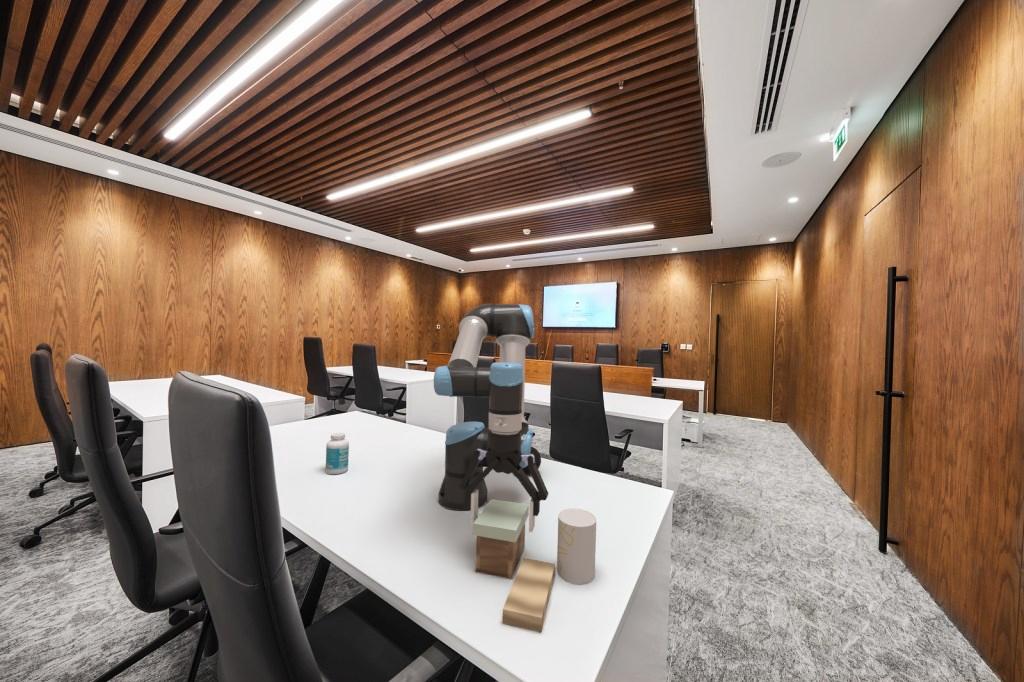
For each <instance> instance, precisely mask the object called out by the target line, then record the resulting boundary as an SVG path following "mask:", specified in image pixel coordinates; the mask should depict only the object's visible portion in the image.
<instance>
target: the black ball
mask: <svg viewBox="0 0 1024 682" xmlns="http://www.w3.org/2000/svg"><path fill="white" fill-rule="evenodd" d="M531 453H533V454H534V455H535V464H536V466H537V468H538V469H539V468H540V467H541V464H542V457H541V454H540V452H539V451H538V449H537V448H535V447H534V446H531V451H530V454H531ZM522 469H523V471H524V473H525V474H526V475H531V473H530V471H529V468H528V465H527V466H526V467H524V468H522Z"/></svg>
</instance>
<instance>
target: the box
mask: <svg viewBox="0 0 1024 682" xmlns="http://www.w3.org/2000/svg"><path fill="white" fill-rule="evenodd" d="M525 536H526V523H525V524H524V526H523V528H522V530H521V532H520V535H519V537H518V539H517V541H516V542H510V541H504V540H499V539H493V538H487V537H481V536H476V542H475V543H476V545H475V550H476V551H475V573H480V574H485V575H487V576H488V575H490V576H494V577H498V578H503V579H504V578H505V579H508V580H509V579H510V580H512V579H513V576H514V574H515V572H516V569H517V567H518V565H519V563H520V559H521V557H522V555H523V552H524V551H525V546H526V545H525V541H526V539H525Z"/></svg>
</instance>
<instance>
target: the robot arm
mask: <svg viewBox="0 0 1024 682" xmlns="http://www.w3.org/2000/svg"><path fill="white" fill-rule="evenodd" d="M458 332H459V334H458V336H457V338H456V342H455V345H454V348H453V350H452V353H451V356H450V358H449V361H448V363H447V365H443V366H442V365H441V366H438V367H437V366H436V368H435V371H434V373H433V390H434V393H435V395H437V396H443V397H450V398H452V397H454V398H455V397H458V398H459V397H464V398H465V397H466V398H467V397H468V398H488V399H489V403H488V404H489V406H488V407H489V408H488V427H485V424H484V422H481V421H465V422H460V423H456V424H454V425H451V426H449V428H447V430H446V433H445V441H444V445H445V446H444V447H445V449H444V450H445V455H444V456H445V457H444V461H445V462H444V476H443V478H442V479H443V480H442V483H441V485H440V487H439V491H438V498H437V500H438V504H440V505H441V506H442V507H444V508H446V509H448V510H449V509H450V510H453V511H468V510H470V523H472V524H473V523H474V522H475V520H476V519H477V518H478V516H479V508H481V507H482V506H484V505H485V504H487V502H488V499H489V492H488V488H487V484H486V481H485V479H486V477H487V476H488V475H489V474H490V473H491V472H492V470H493V471H495V473H498V474H500V473H503V474H507V475H510V474H511V473H512V475H513V476H514V477H515V478H517V480H518V482H519V483H520V485H521V486H522V487H523V488H524V490H525V491H526V493H527V494H528V495H529V497H530V498H531V499H530V501H529V515H528V517H529V518H528V532H529V533H533V531H534V530H535V527H536V526H535V525H536V524H535V522H536V520H535V519H536V517H538V515H539V513H540V510H541V509H540V508H541V506H540V505H541V501H546V500H547V499H548V497H549V491H548V489H547V487H546V485H545V482H544V479H543V477H542V474H541V473H540V470H539V468H537V466H536V464H535V455H534V454H533V453H531V454H530V451H531V447H532V443H533V436H534V429H531V428H529V427H530V426H529V422H528V421H527V420H526V419H525V384H526V383H525V380H526V379H525V378H526V347H528V345H529V344H530V343H531V340H532V339H534V338H535V321H534V314H533V310H532V307H531V306H530V305H529V304H528V305H527V304H520V303H516V304H515V303H514V304H513V303H510V304H509V303H508V304H507V303H484V304H481V305H480V304H479V305H478V306H475V307H473V308H472V309H470V310H469V311H468V312H466V314H465V315H463V317H462V318H461V320H460V322H459V324H458ZM485 338H495V343H496V344H497V345H498V346H499V361H498V362H492V364H491V365H490V367H480V366H479V367H478V366H477V365H478V361H479V358H480V357H479V356H480V351H481V349H482V343H483V340H485ZM527 465H528V468H529V471H530V473H531V474H530V476H531V478H532V481H533V482H534V484H533V482H532V481H531V479H530V477H528V476H527V475H528V474H525V473H524V471H523V469H522V468H524V467H526V466H527ZM484 468H485V469H484Z"/></svg>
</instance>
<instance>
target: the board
mask: <svg viewBox="0 0 1024 682" xmlns="http://www.w3.org/2000/svg"><path fill="white" fill-rule="evenodd" d="M555 576H556V563H555V562H549V561H543V560H537V559H531V558H527V557H523V558H522V560H521V562H520V565H519V567H518V570H517V572H516V575H515V577H514V581H513V582H512V585H511V587H510V590H509V593H508V595H507V598H506V601H505V603H504V605H503V608H502V616H501V617H502V622H501V623H502V624H504V625H509V626H514V627H517V628H521V629H522V628H523V629H525V630H530V631H533V632H538V633H542V631H543V626H544V622H545V620H546V619H545V618H546V614H547V609H548V606H549V601H550V597H551V593H552V588H553V584H554V581H555V580H554V579H555Z"/></svg>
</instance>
